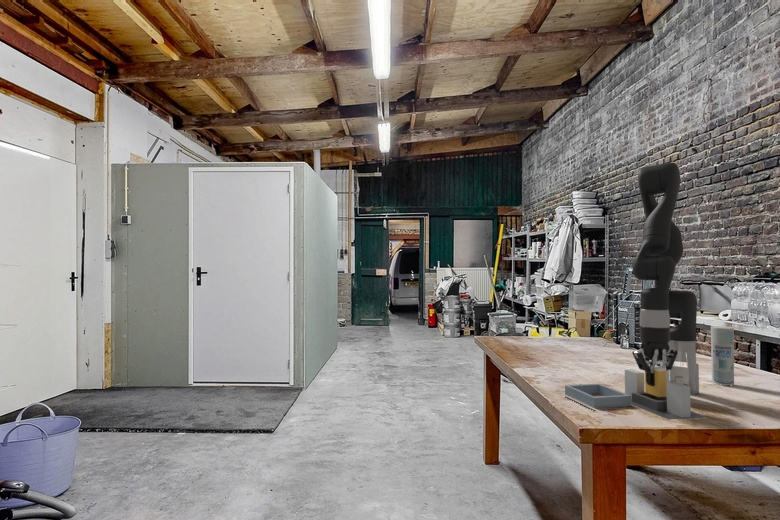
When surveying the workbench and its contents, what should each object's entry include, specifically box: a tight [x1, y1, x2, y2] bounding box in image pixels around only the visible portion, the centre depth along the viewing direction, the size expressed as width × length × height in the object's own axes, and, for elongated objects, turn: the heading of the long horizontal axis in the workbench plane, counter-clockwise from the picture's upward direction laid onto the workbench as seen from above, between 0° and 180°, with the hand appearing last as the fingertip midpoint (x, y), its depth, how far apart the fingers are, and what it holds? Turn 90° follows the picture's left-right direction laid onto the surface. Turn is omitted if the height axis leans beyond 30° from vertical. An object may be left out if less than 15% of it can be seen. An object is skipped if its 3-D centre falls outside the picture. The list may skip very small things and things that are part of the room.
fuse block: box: [624, 368, 708, 420], centre depth 126 cm, size 12×22×9 cm, turn 11°
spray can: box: [710, 325, 735, 386], centre depth 155 cm, size 6×6×20 cm
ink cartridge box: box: [669, 353, 689, 386], centre depth 133 cm, size 9×5×15 cm, turn 148°
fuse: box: [644, 365, 667, 397], centre depth 126 cm, size 3×5×8 cm, turn 11°
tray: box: [564, 383, 632, 412], centre depth 132 cm, size 12×14×4 cm
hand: (655, 384), depth 126 cm, fingers closed on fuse, 2 cm apart
